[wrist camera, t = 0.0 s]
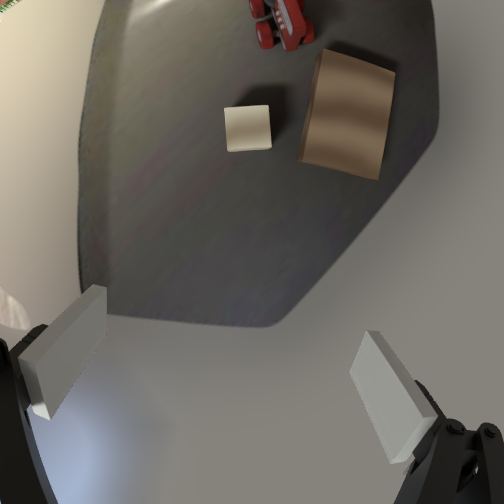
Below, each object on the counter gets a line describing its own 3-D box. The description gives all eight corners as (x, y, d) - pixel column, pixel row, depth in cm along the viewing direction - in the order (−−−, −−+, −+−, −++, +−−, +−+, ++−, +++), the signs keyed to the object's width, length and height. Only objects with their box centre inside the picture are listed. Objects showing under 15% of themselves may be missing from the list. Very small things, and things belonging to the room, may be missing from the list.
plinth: (316, 57, 35) (323, 48, 31) (383, 79, 36) (395, 73, 32) (296, 160, 39) (302, 160, 35) (366, 178, 40) (377, 179, 36)
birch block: (226, 114, 37) (224, 108, 33) (265, 111, 37) (268, 105, 33) (229, 151, 39) (227, 150, 34) (268, 148, 39) (271, 146, 34)
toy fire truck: (291, -13, 32) (303, -51, 22) (313, 56, 35) (334, 27, 25) (244, -8, 32) (244, -47, 22) (263, 62, 35) (269, 33, 25)
